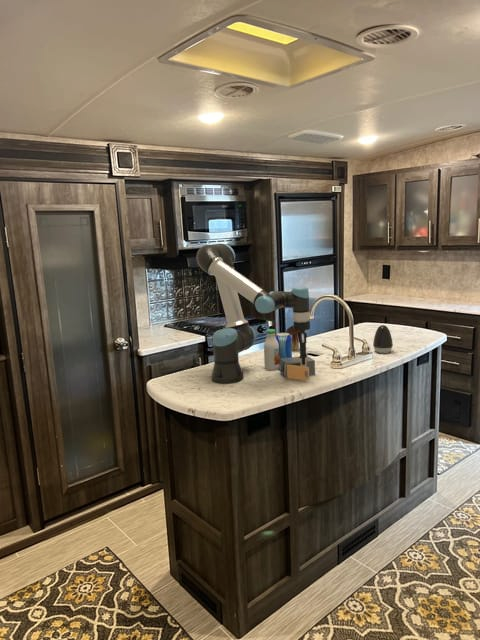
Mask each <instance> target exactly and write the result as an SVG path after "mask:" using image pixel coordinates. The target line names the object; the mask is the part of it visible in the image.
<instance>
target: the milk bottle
mask: <svg viewBox="0 0 480 640" xmlns="http://www.w3.org/2000/svg"><path fill="white" fill-rule="evenodd" d="M265 334H266V338H265V341H264V345H263V358H264V359H263V361H264V369H265V370H266V371H267V370H268V371H276V370H279V362H280V355H279V344H278V341H277V339H276V329H273V328H269V329H266V333H265Z"/></svg>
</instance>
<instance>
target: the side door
mask: <svg viewBox="0 0 480 640" xmlns="http://www.w3.org/2000/svg"><path fill="white" fill-rule="evenodd" d="M283 376H284V379H295V380H303V381H310V375H309V367H304V366H295V365H287V364H284V375H283Z"/></svg>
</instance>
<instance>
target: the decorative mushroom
mask: <svg viewBox="0 0 480 640" xmlns="http://www.w3.org/2000/svg"><path fill="white" fill-rule="evenodd" d="M284 333H289V335H290V336H291V341H292V351H294V352H296V351H298V350H300V344H299V339H298V333H299V330H298V331H297V330H294V325H291V326H290V327H287V329H286V330H285V332H284Z"/></svg>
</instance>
